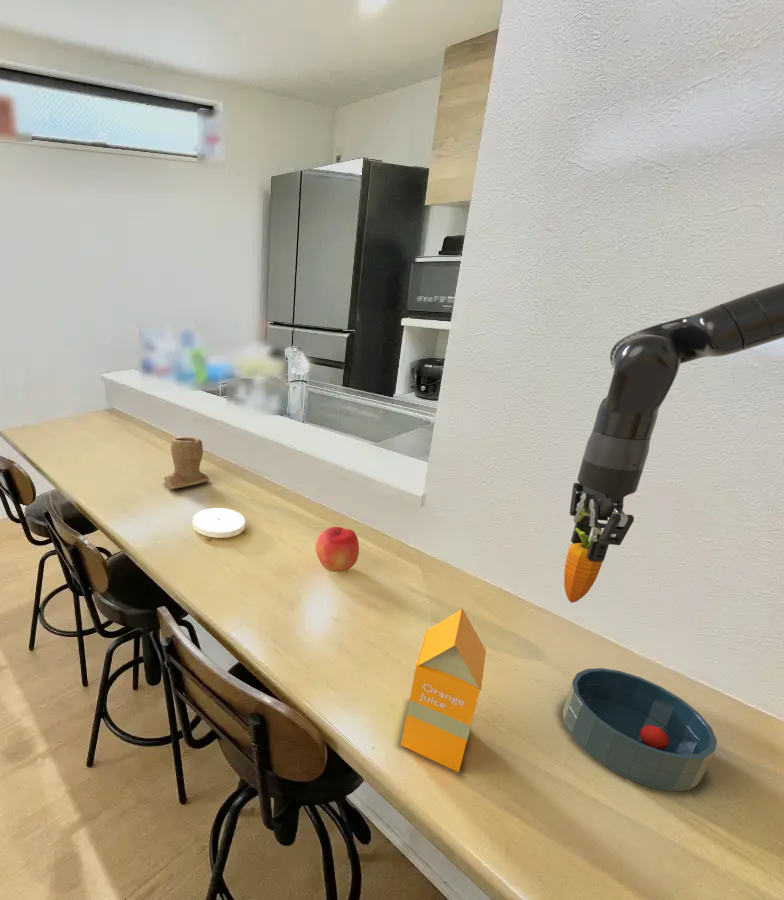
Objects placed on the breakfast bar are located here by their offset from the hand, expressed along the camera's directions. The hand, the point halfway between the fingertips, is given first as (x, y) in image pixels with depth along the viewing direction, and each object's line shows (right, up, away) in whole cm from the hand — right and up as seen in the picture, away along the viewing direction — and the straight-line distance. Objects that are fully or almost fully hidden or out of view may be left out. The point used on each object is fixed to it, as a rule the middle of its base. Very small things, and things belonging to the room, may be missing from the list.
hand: (586, 551), depth 85 cm
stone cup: (-69, +7, +76) cm, 103 cm away
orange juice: (-32, -25, -12) cm, 43 cm away
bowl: (-5, -25, -13) cm, 28 cm away
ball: (-3, -23, -15) cm, 28 cm away
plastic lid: (-60, -4, +48) cm, 77 cm away
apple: (-35, -10, +29) cm, 46 cm away
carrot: (0, -10, +4) cm, 11 cm away
